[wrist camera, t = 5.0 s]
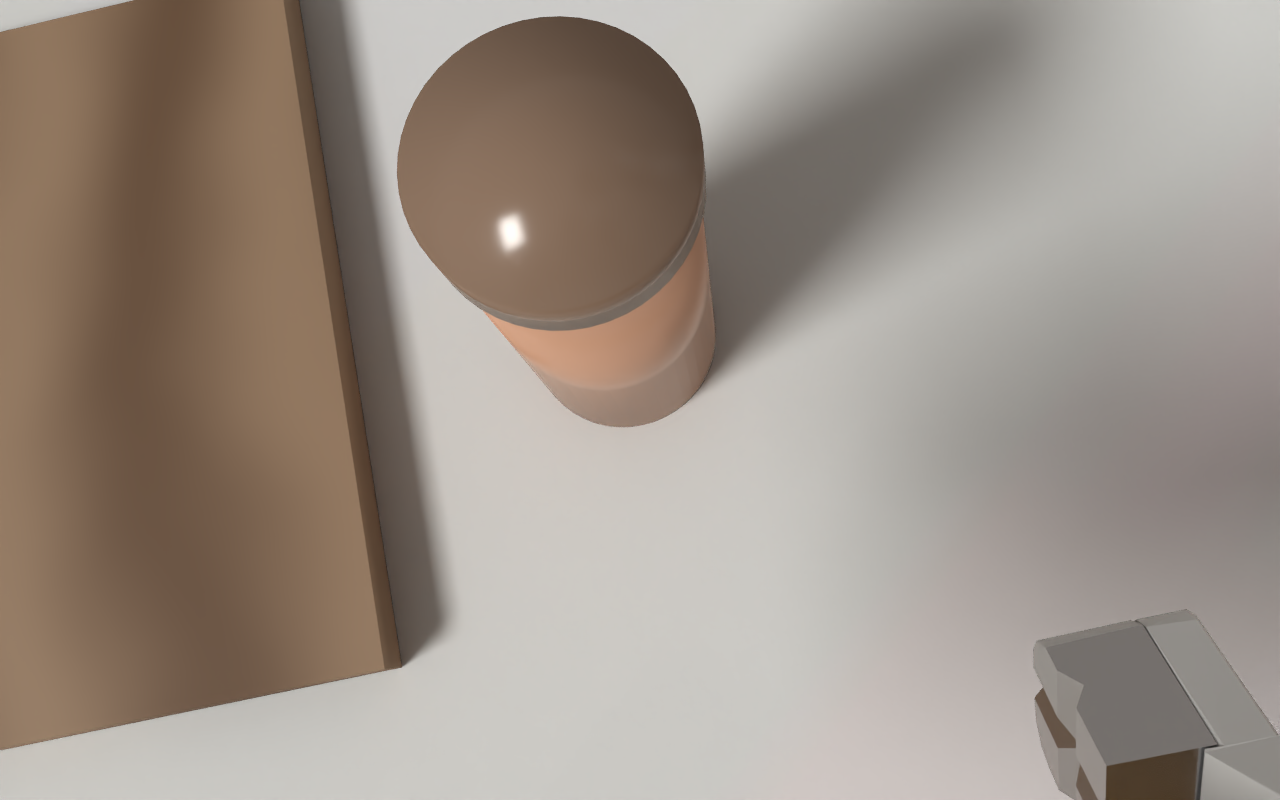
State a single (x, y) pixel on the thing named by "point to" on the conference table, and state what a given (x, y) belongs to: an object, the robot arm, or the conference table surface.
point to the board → (174, 376)
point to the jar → (570, 210)
